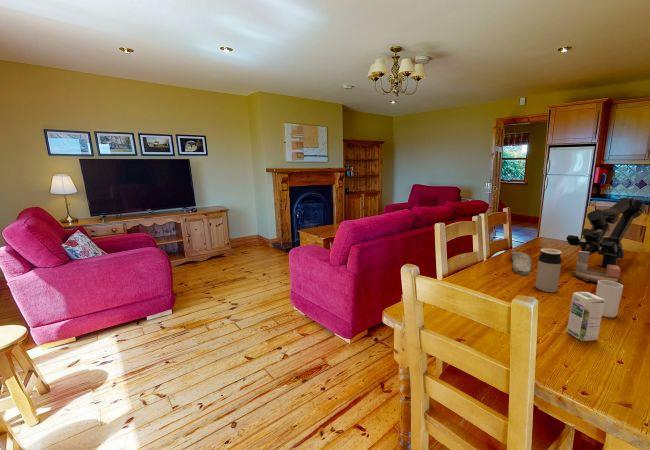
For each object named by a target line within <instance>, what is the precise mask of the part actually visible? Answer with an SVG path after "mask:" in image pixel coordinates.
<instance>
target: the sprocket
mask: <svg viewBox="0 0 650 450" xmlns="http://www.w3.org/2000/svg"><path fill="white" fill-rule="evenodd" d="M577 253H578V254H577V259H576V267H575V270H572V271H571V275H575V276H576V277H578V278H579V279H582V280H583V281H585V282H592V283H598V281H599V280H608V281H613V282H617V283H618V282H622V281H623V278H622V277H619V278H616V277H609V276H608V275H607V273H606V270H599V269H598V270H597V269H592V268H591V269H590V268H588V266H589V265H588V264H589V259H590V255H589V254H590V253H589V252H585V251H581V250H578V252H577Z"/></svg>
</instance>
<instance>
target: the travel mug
mask: <svg viewBox="0 0 650 450" xmlns="http://www.w3.org/2000/svg"><path fill="white" fill-rule="evenodd" d="M562 254H563V252H562V250H559V249H555V248H547V247H546V248H540V254H539V256H538V262H537V268H536V278H535V286H534V287H535V288H536V289H538V290H539V291H542V292H545V293H555V292H558V287H559V281H560V275H561V268H562V260H563V259H562V257H561V255H562Z"/></svg>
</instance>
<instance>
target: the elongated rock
mask: <svg viewBox="0 0 650 450" xmlns="http://www.w3.org/2000/svg"><path fill="white" fill-rule="evenodd" d="M510 254H511V261H512V263H511V265H512V269H513V271H514V273H516V274H517V275H519V276H529V275H530V274H531V272H532V270H533V267H532V265H533V264H532V262H533V261H532V258H531V257H530V255H529V254H527V253H525V252H521V251H512V252H511V253H510Z"/></svg>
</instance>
